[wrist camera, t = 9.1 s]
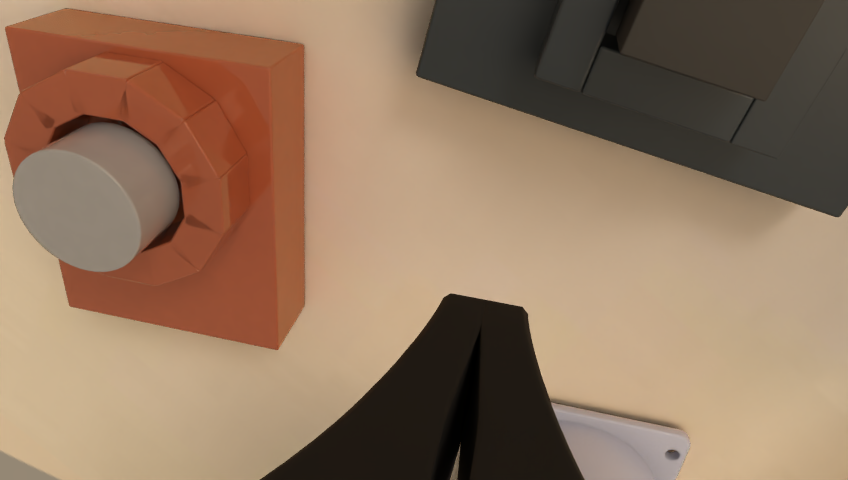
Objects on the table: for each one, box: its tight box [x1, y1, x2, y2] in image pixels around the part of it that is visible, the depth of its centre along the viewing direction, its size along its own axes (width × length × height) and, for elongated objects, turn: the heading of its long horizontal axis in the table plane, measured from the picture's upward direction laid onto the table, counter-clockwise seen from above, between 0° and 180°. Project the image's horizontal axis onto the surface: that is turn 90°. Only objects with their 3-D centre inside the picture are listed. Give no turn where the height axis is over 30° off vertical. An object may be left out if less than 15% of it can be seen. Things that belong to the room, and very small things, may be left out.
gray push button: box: [13, 122, 180, 272], centre depth 18 cm, size 4×4×2 cm
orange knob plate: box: [4, 8, 304, 350], centre depth 21 cm, size 10×8×4 cm
